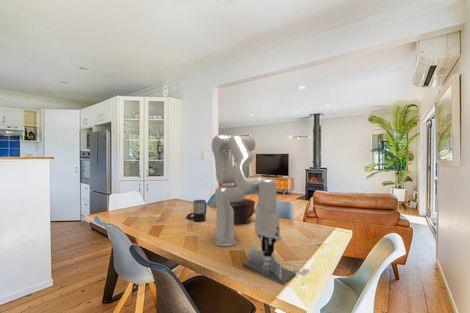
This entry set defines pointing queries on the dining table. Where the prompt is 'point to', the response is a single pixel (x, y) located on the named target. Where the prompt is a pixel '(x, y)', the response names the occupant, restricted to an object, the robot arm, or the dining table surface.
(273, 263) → the hinge leaf
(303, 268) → the mounting bracket
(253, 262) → the hinge stand
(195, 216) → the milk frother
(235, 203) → the bowl
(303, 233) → the dining table surface
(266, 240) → the hinge pin
